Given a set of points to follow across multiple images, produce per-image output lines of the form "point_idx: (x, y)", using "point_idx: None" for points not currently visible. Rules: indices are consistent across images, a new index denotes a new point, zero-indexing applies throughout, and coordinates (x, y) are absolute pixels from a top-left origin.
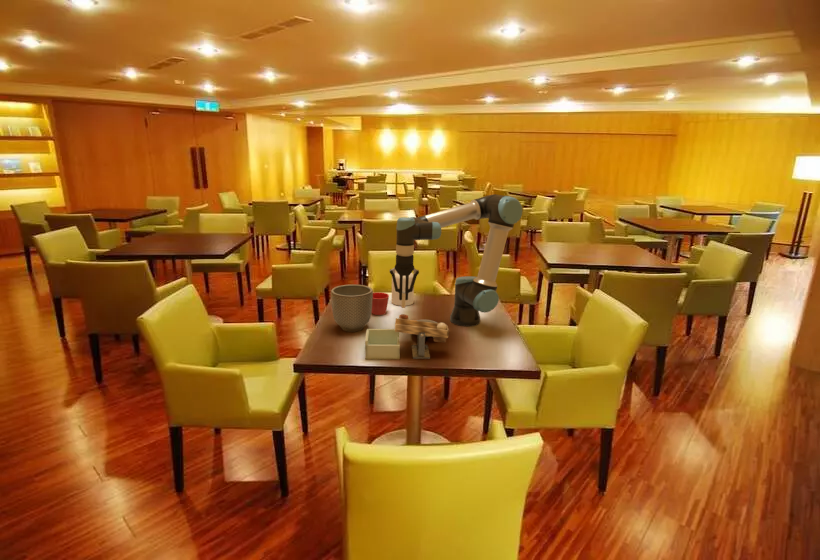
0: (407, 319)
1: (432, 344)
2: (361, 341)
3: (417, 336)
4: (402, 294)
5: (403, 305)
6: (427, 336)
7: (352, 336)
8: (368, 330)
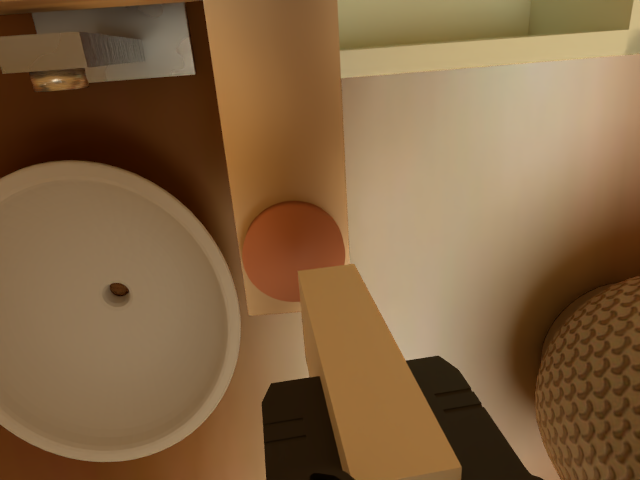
0: (246, 196)
1: (22, 136)
2: (565, 138)
3: (120, 37)
4: (437, 449)
5: (333, 288)
6: (65, 204)
7: (613, 215)
8: (635, 11)
